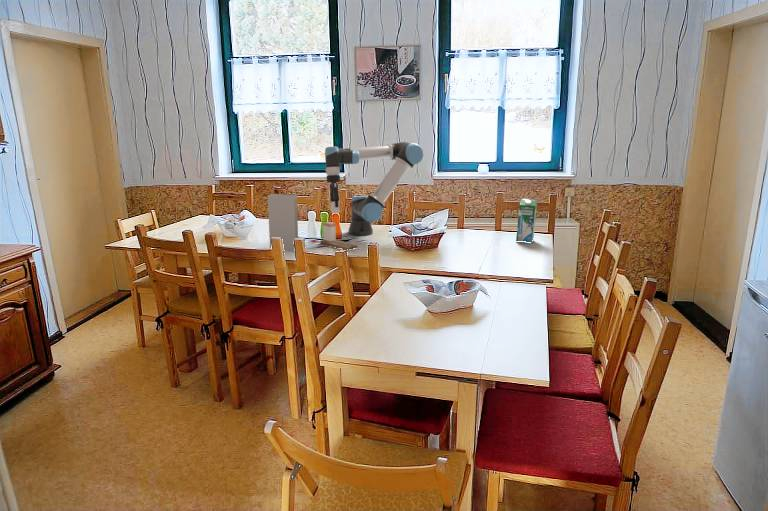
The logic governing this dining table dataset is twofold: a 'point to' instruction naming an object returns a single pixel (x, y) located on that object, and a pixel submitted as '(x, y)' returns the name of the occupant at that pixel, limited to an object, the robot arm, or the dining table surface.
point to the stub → (329, 231)
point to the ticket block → (338, 244)
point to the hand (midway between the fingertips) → (335, 213)
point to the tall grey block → (283, 219)
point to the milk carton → (526, 220)
